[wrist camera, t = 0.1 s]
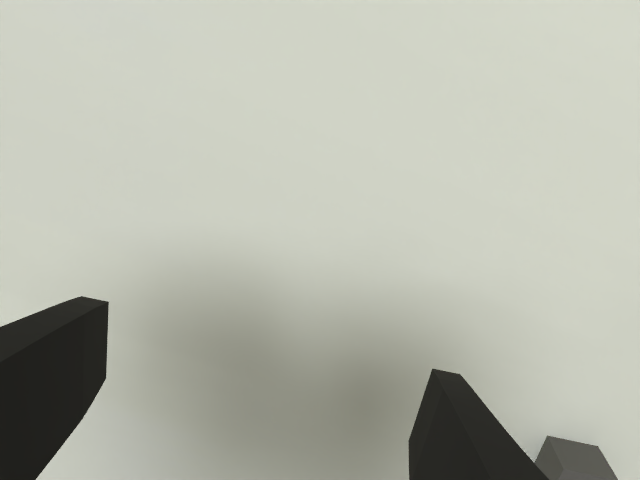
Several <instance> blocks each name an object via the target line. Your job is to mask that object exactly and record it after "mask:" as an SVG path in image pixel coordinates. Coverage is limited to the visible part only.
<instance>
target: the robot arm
mask: <svg viewBox="0 0 640 480" xmlns="http://www.w3.org/2000/svg"><path fill="white" fill-rule="evenodd" d="M108 304H109V302H106V301H101V300H97V299H92V298H87V297H82V296H81V297H78V298H75V299H71V300H68V301H66V302H63V303H60V304H58V305H55V306H52V307H50V308H47V309H45V310H42V311H40V312H37V313H35V314H32V315H30V316H27V317H25V318H22V319H20V320H17V321H14V322H12V323H9V324H7V325H4V326H2V327H0V480H36V478H37V477H38V476H39V474H40V473H41V472H42V471H43V469H44V468H45V467H46V466H47V464H48V463H49V462H50V460H51V459H52V458H53V457H54V455H55V454H56V453H57V451H58V450H59V449H60V448H61V446H62V445H63V444H64V442H65V441H66V440H67V438H68V437H69V436H70V434H71V433H72V432H73V431H74V429H75V428H76V427H77V425H78V424H79V423H80V421H81V420H82V419H83V417H84V415H85V414H86V412H87V410H88V409H89V407H90V405H91V404H92V402H93V400H94V399H95V397H96V395H97V393H98V392H99V390H100V388H101V386H102V385H103V383H104V381H105V379H106V362H107V333H108ZM409 480H549V479H548V478H547V476H546V475H545V474H544V473H543V472H542V471H541V470H540V469H539V468H538V467H537V466H536V465H535V464H534V463H533V461H532V460H531V459H530V458H529V457H528V456H527V455H526V453H525V452H524V451H523V450H522V449H521V448H520V447H519V445H518V444H517V443H516V442H515V441H514V440H513V438H512V437H511V436H510V435H509V434H508V432H507V431H506V430H505V429H504V428H503V426H502V425H501V424H500V423H499V421H498V420H497V419H496V418H495V417H494V415H493V414H492V413H491V412H490V410H489V409H488V408H487V407H486V405H485V404H484V403H483V402H482V400H481V399H480V398H479V397H478V395H477V394H476V393H475V392H474V390H473V389H472V388H471V387H470V385H469V384H468V383H467V382H466V381H465V379H464V378H463V377H462V376H461V375H460V374H456V373H451V372H446V371H441V370H436V369H432V371H431V375H430V378H429V381H428V384H427V387H426V390H425V393H424V396H423V399H422V402H421V405H420V408H419V411H418V414H417V417H416V420H415V424H414V427H413V430H412V433H411V436H410V439H409Z"/></svg>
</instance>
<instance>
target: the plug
mask: <svg viewBox="0 0 640 480" xmlns="http://www.w3.org/2000/svg"><path fill="white" fill-rule="evenodd" d="M535 465H536V466H537V467H538V468H539V469H540V470H541V471H542V472H543V473H544V474H545V475H546V476H547V478H548V479H549V480H618V479H617V477H616V476H615V474H614V472H613V471H612V469H611V467H610V466H609V464H608V462H607V461H606V459H605V457H604V456H603V454H602V452H601V451H600V449H599V447H598V446H594V445H589V444H584V443H579V442H575V441H570V440H565V439H560V438H556V437H551V436H547V438H546V440H545V442H544V444H543V446H542V448H541V451H540V453H539V455H538V457H537V459H536V461H535Z"/></svg>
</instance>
